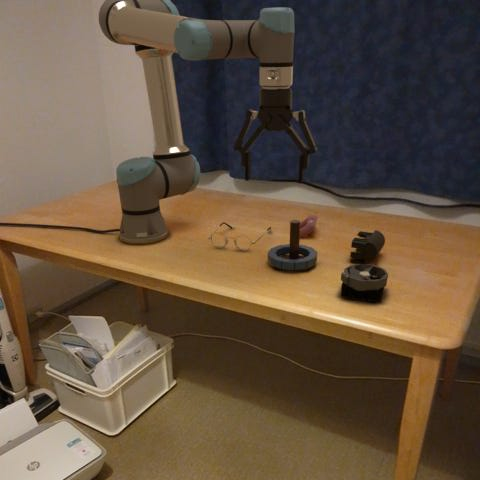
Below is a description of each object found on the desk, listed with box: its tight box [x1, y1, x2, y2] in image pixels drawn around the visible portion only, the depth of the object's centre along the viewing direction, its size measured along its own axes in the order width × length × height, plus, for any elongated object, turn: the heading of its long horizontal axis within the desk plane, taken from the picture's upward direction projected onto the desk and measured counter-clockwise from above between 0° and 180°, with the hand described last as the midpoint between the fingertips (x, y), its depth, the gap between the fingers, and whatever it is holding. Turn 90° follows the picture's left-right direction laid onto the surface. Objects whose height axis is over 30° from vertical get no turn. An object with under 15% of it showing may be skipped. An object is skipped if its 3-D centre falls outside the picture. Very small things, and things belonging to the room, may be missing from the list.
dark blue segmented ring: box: [267, 243, 318, 271], centre depth 130 cm, size 13×13×2 cm
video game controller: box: [300, 213, 319, 239], centre depth 150 cm, size 10×5×7 cm, turn 168°
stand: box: [275, 219, 308, 272], centre depth 128 cm, size 8×8×12 cm
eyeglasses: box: [208, 221, 272, 252], centre depth 147 cm, size 16×19×5 cm
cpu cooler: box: [340, 263, 389, 303], centre depth 113 cm, size 10×6×10 cm
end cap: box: [349, 229, 386, 265], centre depth 131 cm, size 10×7×7 cm
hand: (274, 180), depth 121 cm, fingers open, 13 cm apart
